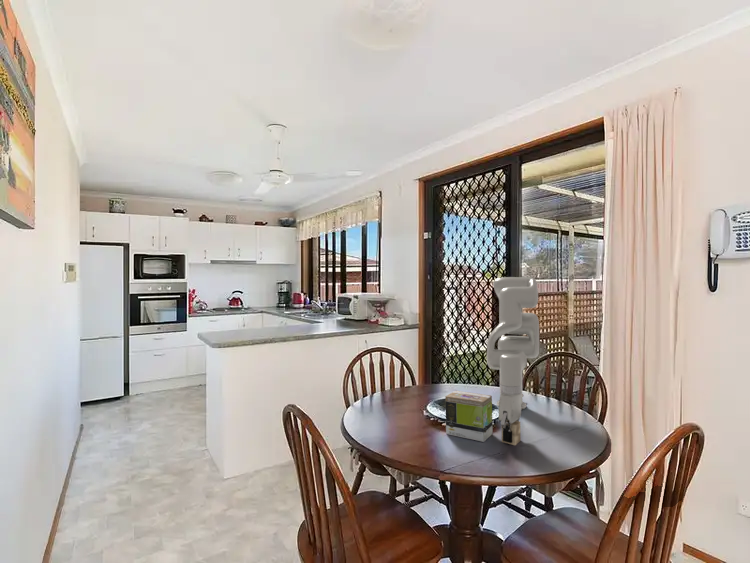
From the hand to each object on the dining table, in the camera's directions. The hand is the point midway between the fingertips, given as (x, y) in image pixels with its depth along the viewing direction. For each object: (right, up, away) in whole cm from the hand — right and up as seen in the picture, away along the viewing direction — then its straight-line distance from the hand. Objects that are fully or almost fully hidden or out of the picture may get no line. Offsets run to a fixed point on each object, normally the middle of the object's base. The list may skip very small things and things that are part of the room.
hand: (511, 438), depth 152 cm
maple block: (0, -1, 0) cm, 1 cm away
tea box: (-13, -1, +7) cm, 15 cm away
